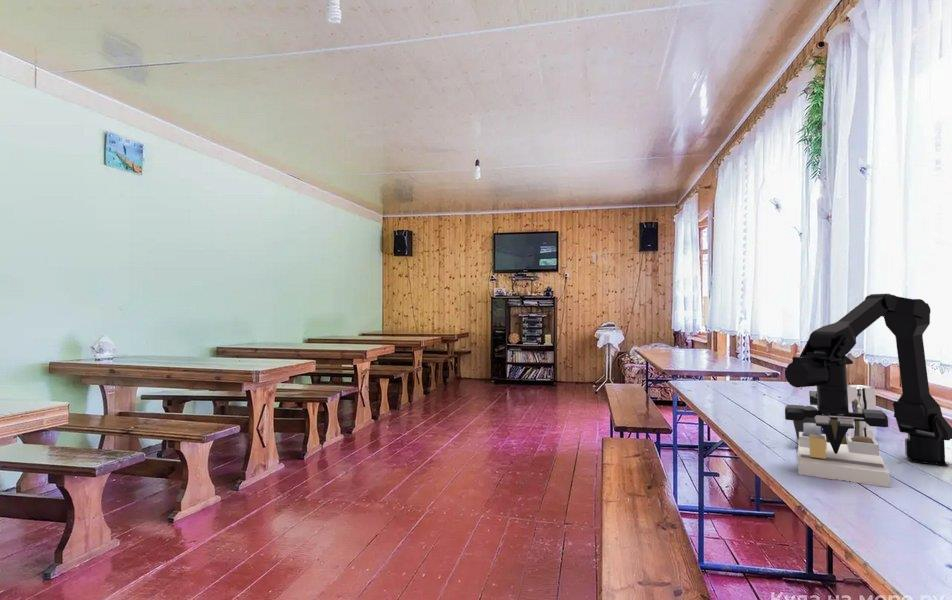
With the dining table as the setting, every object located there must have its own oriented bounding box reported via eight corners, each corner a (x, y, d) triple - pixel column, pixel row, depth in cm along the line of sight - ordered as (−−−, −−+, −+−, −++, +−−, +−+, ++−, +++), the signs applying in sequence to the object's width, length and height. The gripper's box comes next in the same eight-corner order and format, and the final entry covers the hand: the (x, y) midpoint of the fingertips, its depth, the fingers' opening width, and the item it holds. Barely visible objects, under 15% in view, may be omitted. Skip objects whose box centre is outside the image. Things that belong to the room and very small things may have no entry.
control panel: (876, 460, 120) (875, 437, 121) (890, 487, 102) (889, 461, 102) (798, 450, 129) (798, 429, 129) (798, 474, 111) (797, 450, 111)
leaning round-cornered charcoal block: (818, 450, 127) (810, 413, 128) (798, 449, 130) (790, 414, 132) (830, 437, 139) (822, 404, 140) (811, 437, 142) (803, 405, 143)
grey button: (820, 435, 124) (820, 423, 124) (821, 438, 121) (820, 426, 121) (803, 433, 126) (803, 422, 126) (803, 436, 123) (803, 424, 123)
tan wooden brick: (825, 454, 114) (824, 435, 114) (825, 458, 111) (825, 439, 111) (809, 452, 115) (809, 434, 116) (810, 456, 112) (809, 437, 113)
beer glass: (879, 443, 135) (877, 388, 136) (847, 439, 139) (846, 387, 139) (875, 437, 141) (873, 385, 142) (845, 434, 145) (843, 383, 145)
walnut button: (871, 449, 118) (870, 437, 119) (873, 453, 115) (872, 440, 116) (852, 447, 120) (852, 435, 121) (854, 451, 117) (853, 438, 118)
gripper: (879, 382, 113) (883, 449, 113) (784, 378, 124) (787, 440, 123) (886, 388, 104) (891, 462, 103) (783, 384, 114) (786, 451, 114)
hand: (835, 453), depth 111 cm, fingers closed
